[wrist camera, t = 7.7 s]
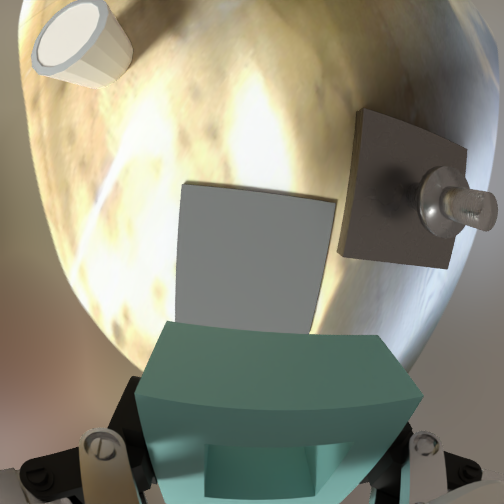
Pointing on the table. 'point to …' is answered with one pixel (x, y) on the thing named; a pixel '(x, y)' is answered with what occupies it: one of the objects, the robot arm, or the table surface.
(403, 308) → the table surface
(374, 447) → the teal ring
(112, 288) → the table surface
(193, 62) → the table surface
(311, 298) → the slate mat
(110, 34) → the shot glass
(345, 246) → the ring stand
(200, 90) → the table surface
